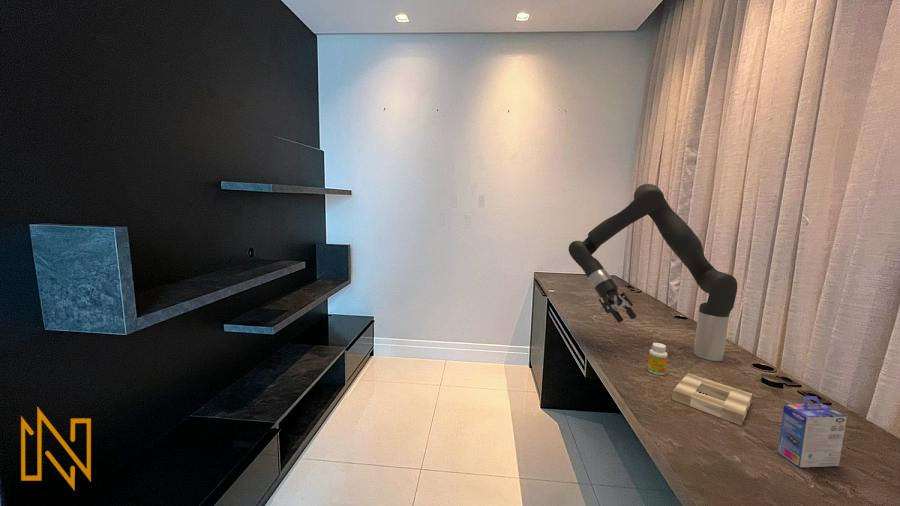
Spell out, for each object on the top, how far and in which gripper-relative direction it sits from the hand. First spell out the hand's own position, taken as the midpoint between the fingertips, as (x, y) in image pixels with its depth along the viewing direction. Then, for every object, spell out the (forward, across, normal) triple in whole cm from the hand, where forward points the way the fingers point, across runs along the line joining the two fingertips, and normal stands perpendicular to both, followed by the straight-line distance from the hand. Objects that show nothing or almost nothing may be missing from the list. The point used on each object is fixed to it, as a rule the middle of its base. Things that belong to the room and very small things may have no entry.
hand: (627, 319), depth 127 cm
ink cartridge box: (+47, -13, -26) cm, 55 cm away
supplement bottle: (+19, 0, +2) cm, 19 cm away
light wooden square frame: (+32, -5, -10) cm, 34 cm away
